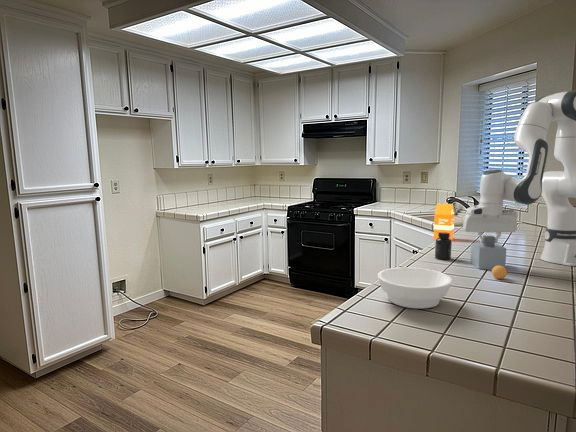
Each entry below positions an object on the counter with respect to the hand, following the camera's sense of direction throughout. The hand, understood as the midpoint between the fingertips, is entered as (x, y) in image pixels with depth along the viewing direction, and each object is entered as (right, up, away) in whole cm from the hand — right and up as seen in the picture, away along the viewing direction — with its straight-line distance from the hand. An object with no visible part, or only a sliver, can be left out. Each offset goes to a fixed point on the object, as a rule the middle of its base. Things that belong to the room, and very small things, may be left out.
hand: (488, 242), depth 165 cm
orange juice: (+4, -2, +58) cm, 59 cm away
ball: (-4, -10, -16) cm, 20 cm away
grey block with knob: (0, -10, +1) cm, 10 cm away
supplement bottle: (-13, -9, +15) cm, 22 cm away
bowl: (-44, -17, -39) cm, 61 cm away
